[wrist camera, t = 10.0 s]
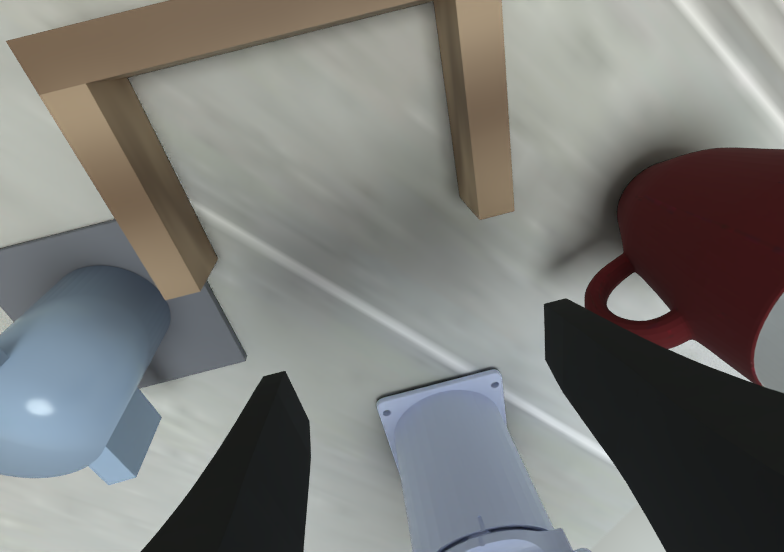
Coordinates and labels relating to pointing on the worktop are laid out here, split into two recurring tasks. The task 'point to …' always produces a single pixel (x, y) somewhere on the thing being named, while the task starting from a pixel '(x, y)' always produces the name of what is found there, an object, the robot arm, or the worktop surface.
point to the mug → (707, 256)
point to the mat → (111, 248)
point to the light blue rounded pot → (81, 377)
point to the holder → (222, 35)
